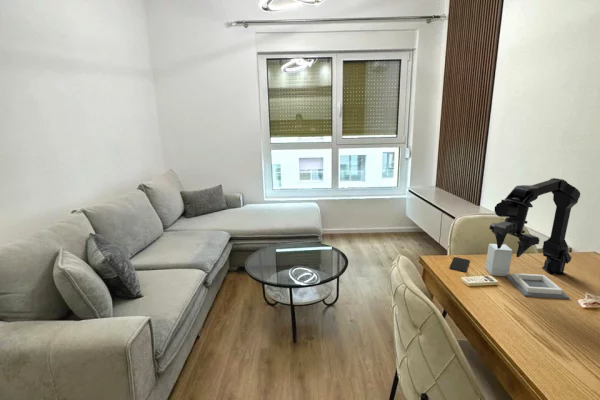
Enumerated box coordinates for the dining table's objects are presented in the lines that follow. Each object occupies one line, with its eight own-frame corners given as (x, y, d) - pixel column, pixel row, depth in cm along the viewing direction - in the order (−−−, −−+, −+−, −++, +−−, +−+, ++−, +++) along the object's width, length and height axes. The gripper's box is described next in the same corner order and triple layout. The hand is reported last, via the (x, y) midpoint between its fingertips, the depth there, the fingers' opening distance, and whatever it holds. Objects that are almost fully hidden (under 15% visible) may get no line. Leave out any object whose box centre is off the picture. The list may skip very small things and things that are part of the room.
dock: (544, 278, 139) (545, 273, 138) (569, 299, 123) (570, 292, 123) (505, 276, 141) (506, 270, 140) (524, 296, 126) (525, 289, 125)
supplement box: (508, 276, 141) (513, 250, 137) (490, 275, 142) (494, 249, 139) (502, 269, 148) (506, 244, 144) (484, 267, 149) (488, 243, 146)
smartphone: (453, 257, 161) (448, 269, 149) (453, 256, 161) (448, 267, 149) (470, 261, 157) (466, 273, 145) (470, 259, 157) (466, 271, 145)
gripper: (483, 210, 136) (475, 244, 139) (522, 223, 118) (512, 261, 122) (504, 211, 139) (495, 244, 142) (545, 224, 121) (534, 262, 124)
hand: (507, 252), depth 132 cm, fingers open, 9 cm apart
